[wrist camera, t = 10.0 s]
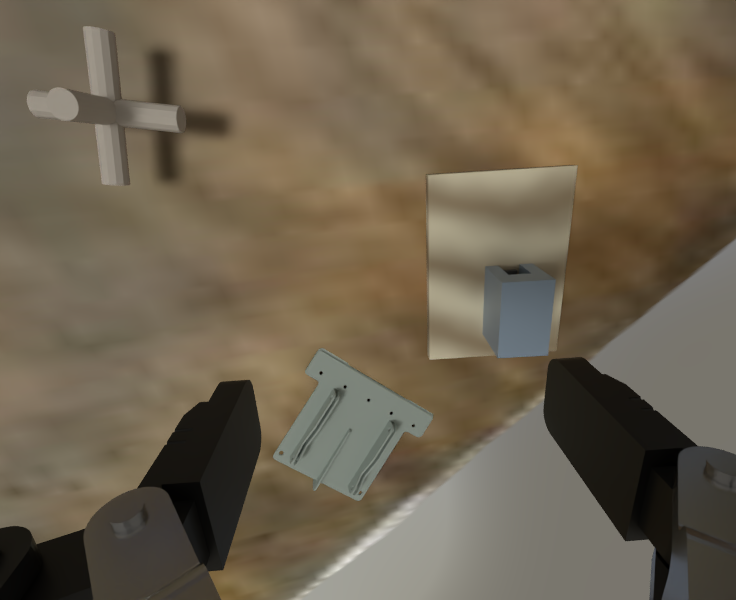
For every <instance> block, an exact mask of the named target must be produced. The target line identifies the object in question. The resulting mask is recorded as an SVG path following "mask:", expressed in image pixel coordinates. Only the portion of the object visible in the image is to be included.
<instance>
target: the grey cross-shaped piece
mask: <svg viewBox="0 0 736 600" xmlns="http://www.w3.org/2000/svg"><path fill="white" fill-rule="evenodd" d="M83 32H84V40H85V49H86V57H87V65H88V73H89V81H90V90H91V94H88V93H83V92H79V91H74V90H70V89H65V88H54V89H52V90H51V91H41V90H31V91H29V93H28V95H27V104H28V107H29V110H30V111H31V112H32V114H33V115H34V116H36V117H38V118H44V119H53V120H63V121H71V122H81V123H91V124H95V130H96V139H97V147H98V155H99V163H100V171H101V179H102V184H106V185H130V178H129V168H128V158H127V148H126V137H125V127H129V128H138V129H148V130H157V131H167V132H176V133H183V132H185V129H186V115H185V111H184V109H183V108H182V107H181V106H178V105H168V104H159V103H150V102H141V101H132V100H123V99H122V97H121V87H120V77H119V67H118V57H117V47H116V37H115V33H114V32H111V31H109V30H105V29H101V28H96V27H89V26H84V27H83Z"/></svg>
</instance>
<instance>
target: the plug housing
mask: <svg viewBox="0 0 736 600" xmlns="http://www.w3.org/2000/svg"><path fill="white" fill-rule="evenodd" d="M555 283H556V279H554V278H553V277H551V276H550V275H549V274H547V273H546V272H544V271H543V270H541V269H540V268H538V267H537V266H535V265H534V264H519V274H514V275H508V274H507V273H506V272H505V271H504V270H503V269H501V268H500V267H499V266H485V283H484V307H483V332H482V334H483V336H484V337H485V339H486V340H487V342H488V344H489V345H490V347H491V348H492V350H493V351H494V353H495V355H496V356H497V358H510V357H528V356H545V355H548V350H549V341H550V331H551V322H552V312H553V303H554V293H555Z"/></svg>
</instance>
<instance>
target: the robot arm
mask: <svg viewBox="0 0 736 600" xmlns="http://www.w3.org/2000/svg"><path fill="white" fill-rule="evenodd" d="M544 419H545V423H546V426H547V428H548V431H549V432H550V434H551V435H552V437H553V438H554V440H555V441H556V442H557V444H558V445H559V447H560V448H561V450H562V451H563V453H564V454H565V455H566V457H567V458H568V459H569V461H570V462H571V464H572V465H573V467H574V468H575V470H576V471H577V473H578V474H579V475H580V477H581V478H582V480H583V481H584V483H585V484H586V485H587V487H588V488H589V490H590V491H591V493H592V494H593V496H594V497H595V498H596V500H597V501H598V503H599V504H600V505H601V507H602V508H603V510H604V511H605V513H606V514H607V515H608V517H609V518H610V520H611V521H612V523H613V524H614V526H615V527H616V529H617V530H618V531H619V533H620V534H621V536H622V537H623V539H624V540H625V541H634V540H646V539H649V540H650V542H651V543H652V544H653V546H654V547H655V549H654V552H653V556H652V564H651V580H650V599H649V600H736V455H735V454H733V453H730V452H727V451H724V450H720V449H716V448H711V447H703V446H702V447H701V446H697V445H696V444H695V443H694V442H693V441H691V440H690V439H689V438H688V437H687V436H686V435H684V434H683V433H682V432H681V431H680V430H679V429H677V428H676V427H675V426H674V425H673V424H672V423H670V422H669V421H668V420H667V419H666V418H664V417H663V416H662V415H661V414H660V413H659V412H658V411H656V410H655V411H654V410H653V407H652V406H651V405H649V404H648V403H647V402H646V401H645V400H641V398H640V396H639V395H638V394H637V393H635V392H634V391H633V390H632V389H631V388H630V387H628V386H627V385H626V384H624V383H622V382H620V381H618V380H616V379H614V378H612V377H610V376H608V375H606V374H601V373H600V372H599V371H598V370H597V369H596V368H594V367H593V366H592V365H591V364H590V363H589V362H588V361H587V360H586V359H584V358H582V357H575V358H561V359H552V360H551V361H550V363H549V365H548V372H547V381H546V390H545V400H544ZM260 447H261V428H260V422H259V417H258V411H257V406H256V401H255V395H254V390H253V386H252V383H251V381H250V380H241V381H226V382H220V383H219V384H218V386H217V388H216V390H215V391H214V393H213V395H212V396H211V398H210V400H209V402H200V403H198V404H197V405H196V406H195V407H193V408H192V409H191V410H190V411H189V412H187V413H186V414H185V415H184V416H183V418H182V419H181V421H180V422H179V424H178V425H177V427H176V428H175V432H173V433H172V435H171V436H170V438H169V439H168V441H167V445H165V446H164V447H163V449H162V450H161V452H160V453H159V455H158V457H157V458H156V460H155V461H154V463H153V464H152V466H151V468H150V469H149V471H148V472H147V474H146V475H145V477H144V479H143V480H142V482H141V483H140V485H139V486H138V488H137V489H134V490H131V491H128V492H126V493H123V494H121V495H119V496H117V497H115V498H114V499H112V500H111V501H109V502H108V503H106V504H105V505H104V506H103V507H101V508H100V509H99V510H98V511H97V512H96V513H95V514H94V516H93V517H92V518H91V519H90V521H89V522H88V524H87V526H86V528H85V529H83V530H80V531H77V532H74V533H71V534H68V535H64V536H61V537H58V538H55V539H52V540H49V541H46V542H43V543H39V544H36V543H35V541H34V539H33V536H32V534H31V532H30V531H29V530H28V529H27V528H24V527H19V526H11V527H5V528H1V529H0V600H221V598H220V596H219V594H218V592H217V590H216V588H215V585H214V583H213V581H212V579H211V577H210V575H209V573H208V571H217V570H223V569H224V566H225V562H226V559H227V556H228V553H229V549H230V546H231V543H232V540H233V537H234V533H235V530H236V527H237V524H238V520H239V517H240V514H241V511H242V507H243V504H244V501H245V498H246V495H247V491H248V488H249V485H250V482H251V478H252V475H253V472H254V469H255V466H256V462H257V459H258V456H259V452H260Z"/></svg>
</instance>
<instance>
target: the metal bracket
mask: <svg viewBox="0 0 736 600" xmlns="http://www.w3.org/2000/svg"><path fill="white" fill-rule="evenodd" d="M320 371H322V372H323V374H319V372H320ZM305 373H306V374H307V375H309V376H310V377H312V378H314V379H316V380H317V381H318V382H319V384H318V386H317V387H316V389H315V390H314V392H313V393H312V395H311V397H310V398H309V400H308V401H307V403H306V404H305V406H304V408H303V409H302V411H301V412H300V414H299V415H298V417H297V419H296V420H295V422H294V423H293V425H292V426H291V428H290V430H289V431H288V433H287V434H286V436H285V437H284V439H283V441H282V442H281V444H280V445H279V447H278V448H277V450H276V452H275V453H274V455H273V458H274V459H275V460H277V461H279V462H281V463H283V464H285V465H287V466H289V467H291V468H293V469H295V470H297V471H299V472H301V473H303V474H305V475H307V476H309V477H311V478H313V490H314V491H316V489H317V488H318V486H319V484H320V483H323V484H325V485H327V486H329V487H331V488H333V489H335V490H337V491H339V492H341V493H343V494H345V495H347V496H349V497H351V498H353V499H355V500H357V501H360V500H361V499H362V498H363V496H364V494H365V493H366V491H367V490H368V488H369V486H370V485H371V483H372V482H373V480H374V479H375V477H376V475H377V474H378V472H379V471H380V469H381V467H382V466H383V464H384V463H385V461H386V460H387V458H388V456H389V455H390V453H391V452H392V450H393V449H394V447H395V445H396V444H397V442H398V441H399V439H400V437H401V436H402V434H403V433H404V432H406V431H407V432H409V433H411V434H413V435H414V436H416V437H421V436H422V435H423V433H424V432H425V430H426V428H427V427H428V425H429V424H430V422H431V421H432V419H433V414H432V413H430V412H428V411H427V410H425V409H423V408H422V407H420V406H418V405H417V404H415V403H413V402H412V401H410V400H407V399H405V398H403V397H402V396H400V395H398V394H397V393H395V392H393V391H391V390H390V389H388V388H386V387H385V386H383V385H381V384H380V383H378V382H376V381H375V380H373V379H371V378H369V377H368V376H366V375H364V374H363V373H361V372H359V371H358V370H356V369H354V368H352V367H351V366H349V365H348V363H347V362H345V361H343V360H342V359H340V358H338V357H337V356H335V355H333V354H332V353H330V352H328V351H327V350H325V349H323V348H320V349H319V350H318V351H317V353H316V354H315V356H314V357H313V359H312V360H311V362H310V364H309V365H308V367H307V368H306V370H305ZM344 385H346V386H347V387H346V388H344ZM367 399H370V401H367ZM390 412H393V413H392V414H390ZM413 424H414V425H415V426H414V427H412V425H413ZM280 451H283V452H284V453H283V454H282V455H280V454H279V452H280ZM360 491H362V493H361V494H358V493H359V492H360Z"/></svg>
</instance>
